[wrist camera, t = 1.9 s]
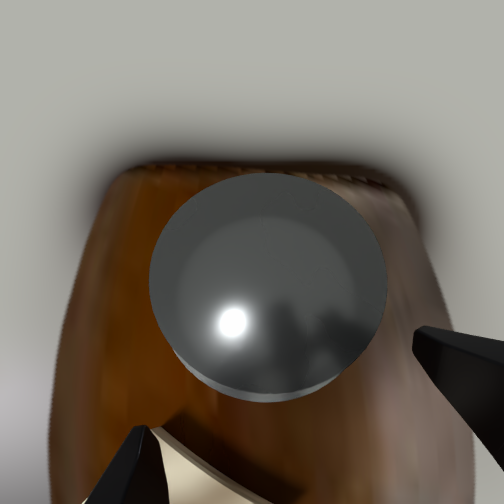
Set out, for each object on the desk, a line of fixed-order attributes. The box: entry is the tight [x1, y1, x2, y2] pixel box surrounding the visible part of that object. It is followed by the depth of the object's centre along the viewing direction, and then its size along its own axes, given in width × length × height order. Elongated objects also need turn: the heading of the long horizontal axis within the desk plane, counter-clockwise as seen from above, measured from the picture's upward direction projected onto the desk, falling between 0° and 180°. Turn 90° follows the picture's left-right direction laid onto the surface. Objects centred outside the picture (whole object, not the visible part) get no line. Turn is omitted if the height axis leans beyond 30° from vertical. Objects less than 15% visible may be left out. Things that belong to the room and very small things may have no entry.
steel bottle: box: [149, 173, 387, 402], centre depth 12 cm, size 5×5×14 cm
